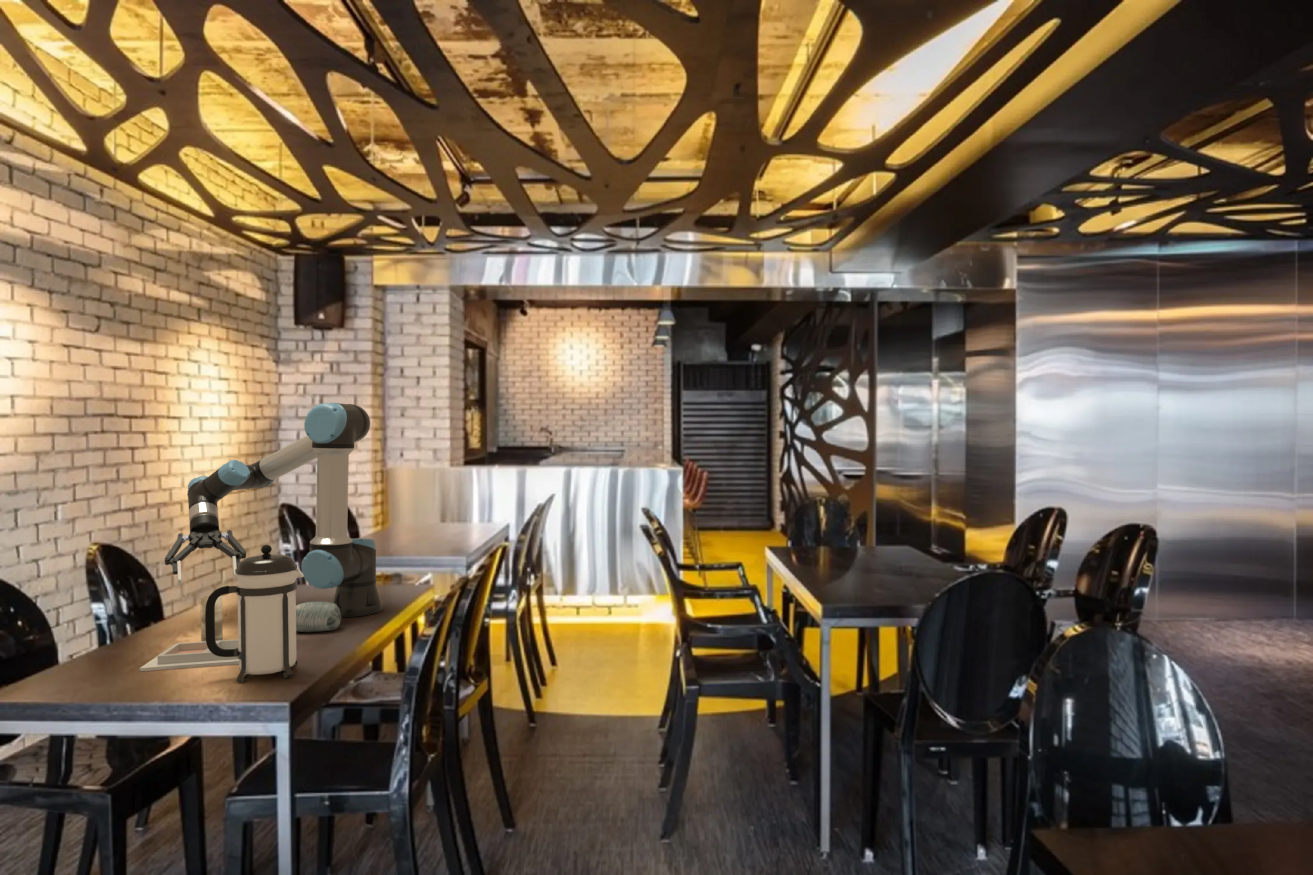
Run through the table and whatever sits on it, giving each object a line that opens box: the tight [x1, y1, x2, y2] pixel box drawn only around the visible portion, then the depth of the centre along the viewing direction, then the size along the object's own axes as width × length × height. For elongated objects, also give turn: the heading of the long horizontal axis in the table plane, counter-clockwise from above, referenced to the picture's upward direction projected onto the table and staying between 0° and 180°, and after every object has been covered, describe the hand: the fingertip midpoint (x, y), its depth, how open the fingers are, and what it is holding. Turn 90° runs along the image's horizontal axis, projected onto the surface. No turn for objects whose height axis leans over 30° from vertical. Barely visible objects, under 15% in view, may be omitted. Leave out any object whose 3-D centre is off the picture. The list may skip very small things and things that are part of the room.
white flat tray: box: [139, 638, 239, 672], centre depth 195 cm, size 26×16×3 cm, turn 103°
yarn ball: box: [296, 600, 342, 633], centre depth 221 cm, size 14×10×10 cm
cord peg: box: [200, 595, 224, 642], centre depth 210 cm, size 5×5×12 cm
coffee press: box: [205, 544, 304, 684], centre depth 180 cm, size 17×16×30 cm
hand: (208, 579), depth 219 cm, fingers open, 13 cm apart
